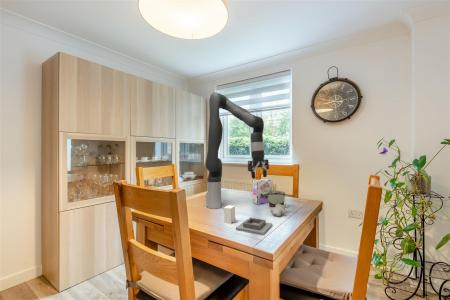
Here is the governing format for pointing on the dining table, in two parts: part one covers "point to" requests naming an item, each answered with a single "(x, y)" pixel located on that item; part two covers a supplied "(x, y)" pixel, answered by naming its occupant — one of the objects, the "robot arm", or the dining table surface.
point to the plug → (229, 214)
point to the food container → (276, 198)
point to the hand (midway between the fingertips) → (259, 177)
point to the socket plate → (254, 226)
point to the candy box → (261, 191)
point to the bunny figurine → (279, 210)
